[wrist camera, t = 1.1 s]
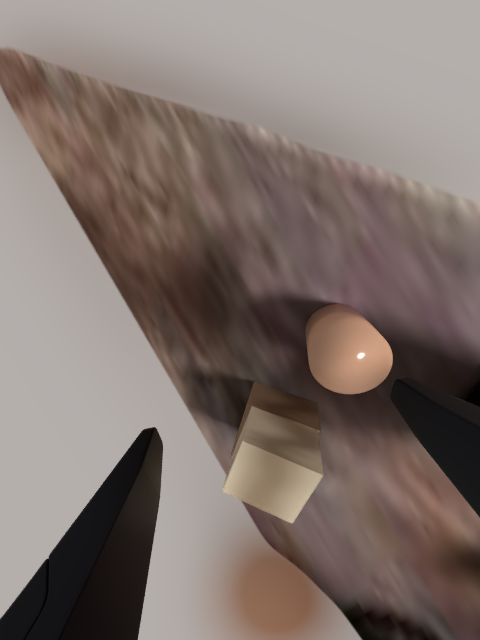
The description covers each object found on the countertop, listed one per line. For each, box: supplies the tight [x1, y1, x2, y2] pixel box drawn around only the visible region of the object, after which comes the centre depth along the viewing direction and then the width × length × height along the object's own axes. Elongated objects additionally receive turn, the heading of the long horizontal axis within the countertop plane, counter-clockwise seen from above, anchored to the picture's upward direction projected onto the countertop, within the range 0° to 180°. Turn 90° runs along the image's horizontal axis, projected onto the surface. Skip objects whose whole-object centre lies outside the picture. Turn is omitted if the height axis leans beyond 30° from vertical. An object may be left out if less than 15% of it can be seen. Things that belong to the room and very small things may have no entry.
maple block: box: [222, 406, 324, 523], centre depth 17 cm, size 6×6×4 cm
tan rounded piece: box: [305, 304, 393, 394], centre depth 16 cm, size 5×5×5 cm
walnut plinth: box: [231, 381, 321, 456], centre depth 20 cm, size 6×6×4 cm
